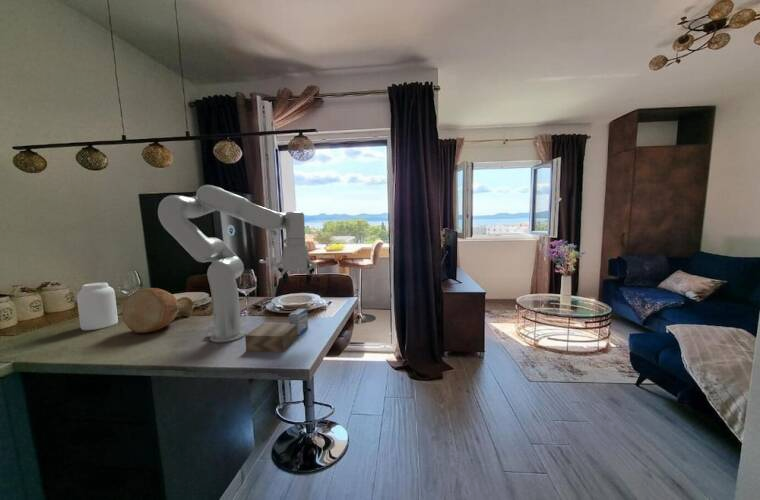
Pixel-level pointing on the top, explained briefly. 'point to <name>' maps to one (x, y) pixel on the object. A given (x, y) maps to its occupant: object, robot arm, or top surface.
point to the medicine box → (299, 320)
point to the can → (97, 306)
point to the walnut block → (271, 337)
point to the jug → (153, 309)
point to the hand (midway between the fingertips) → (297, 283)
